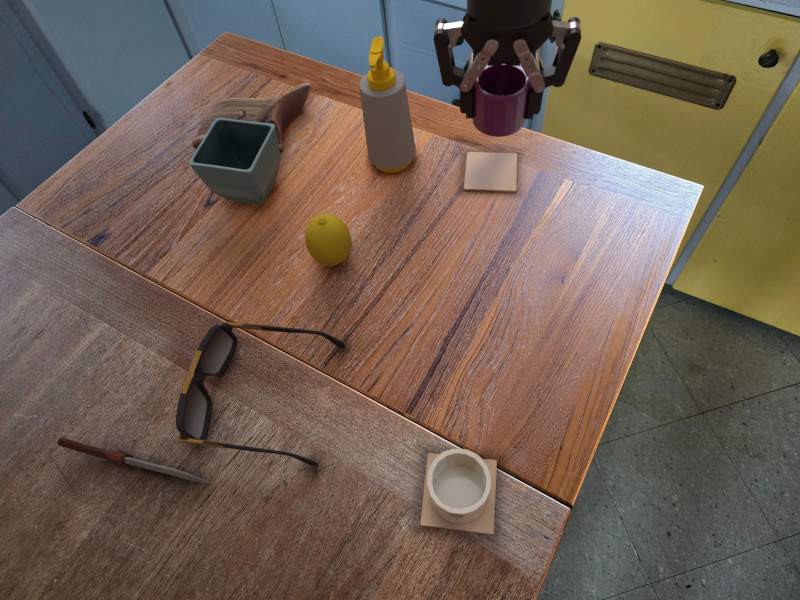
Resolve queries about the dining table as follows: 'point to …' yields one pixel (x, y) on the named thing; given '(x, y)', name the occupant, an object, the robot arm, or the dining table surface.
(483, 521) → the near coaster
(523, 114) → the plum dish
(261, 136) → the flower pot
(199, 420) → the sunglasses
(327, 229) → the lemon
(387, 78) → the soap bottle
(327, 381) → the dining table surface
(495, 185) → the far coaster
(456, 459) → the cream dish
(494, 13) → the robot arm
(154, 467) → the knife
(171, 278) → the dining table surface
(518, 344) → the dining table surface
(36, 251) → the dining table surface
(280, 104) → the fragment
